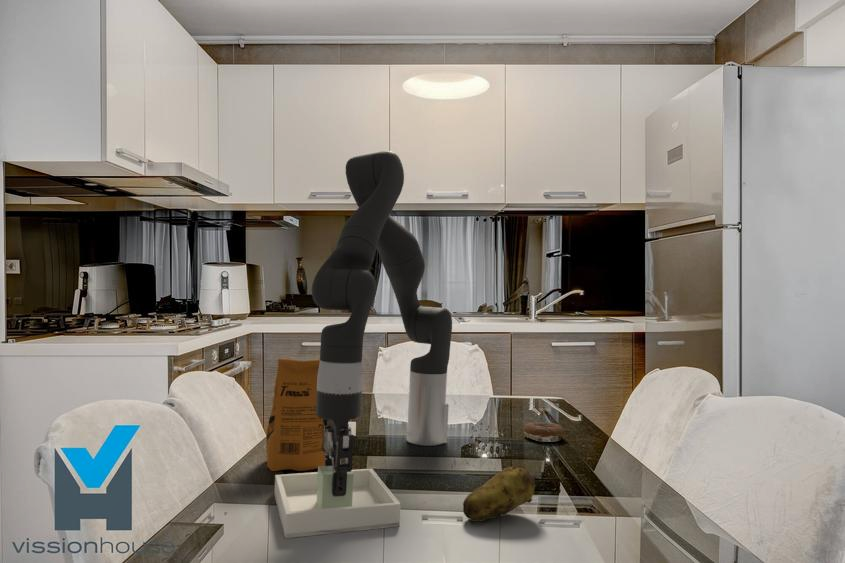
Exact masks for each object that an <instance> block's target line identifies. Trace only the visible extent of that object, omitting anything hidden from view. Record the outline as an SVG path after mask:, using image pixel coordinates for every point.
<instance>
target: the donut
mask: <svg viewBox="0 0 845 563" xmlns="http://www.w3.org/2000/svg"><path fill="white" fill-rule="evenodd" d="M523 427H524V428H523V431H522V432H523V434H524V433H525V434H527V435H530V436H534V437H541V438H552V437H559V436H562V435H564V433H565V430H564V428H563V427H562V426H561V425H560V424H557V423H554V422H553V423H552V422H530V423H526V424H525V425H524V426H523ZM564 436H565V435H564Z"/></svg>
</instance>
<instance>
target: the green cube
mask: <svg viewBox="0 0 845 563" xmlns="http://www.w3.org/2000/svg"><path fill="white" fill-rule="evenodd" d="M317 472H318V481H317V501H316V502H317V504H318V507H319V509H327V508H338V507H349V506H352V498H353V478H354V474H353V472H352V471H351V472H347V486H346V494H345V495H344V496H337V497H334V496H333V494H332V478H333V471H332V466H318V469H317Z"/></svg>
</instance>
